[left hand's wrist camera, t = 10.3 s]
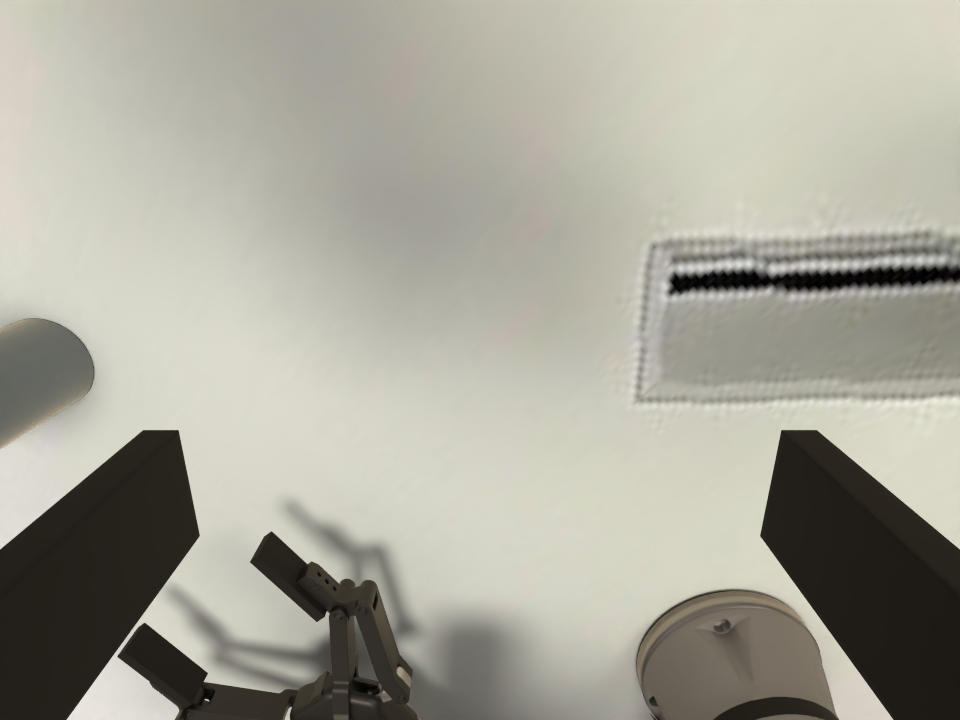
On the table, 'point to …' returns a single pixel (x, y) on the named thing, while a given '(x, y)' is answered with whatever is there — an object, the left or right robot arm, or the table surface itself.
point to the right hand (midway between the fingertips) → (193, 593)
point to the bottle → (39, 375)
